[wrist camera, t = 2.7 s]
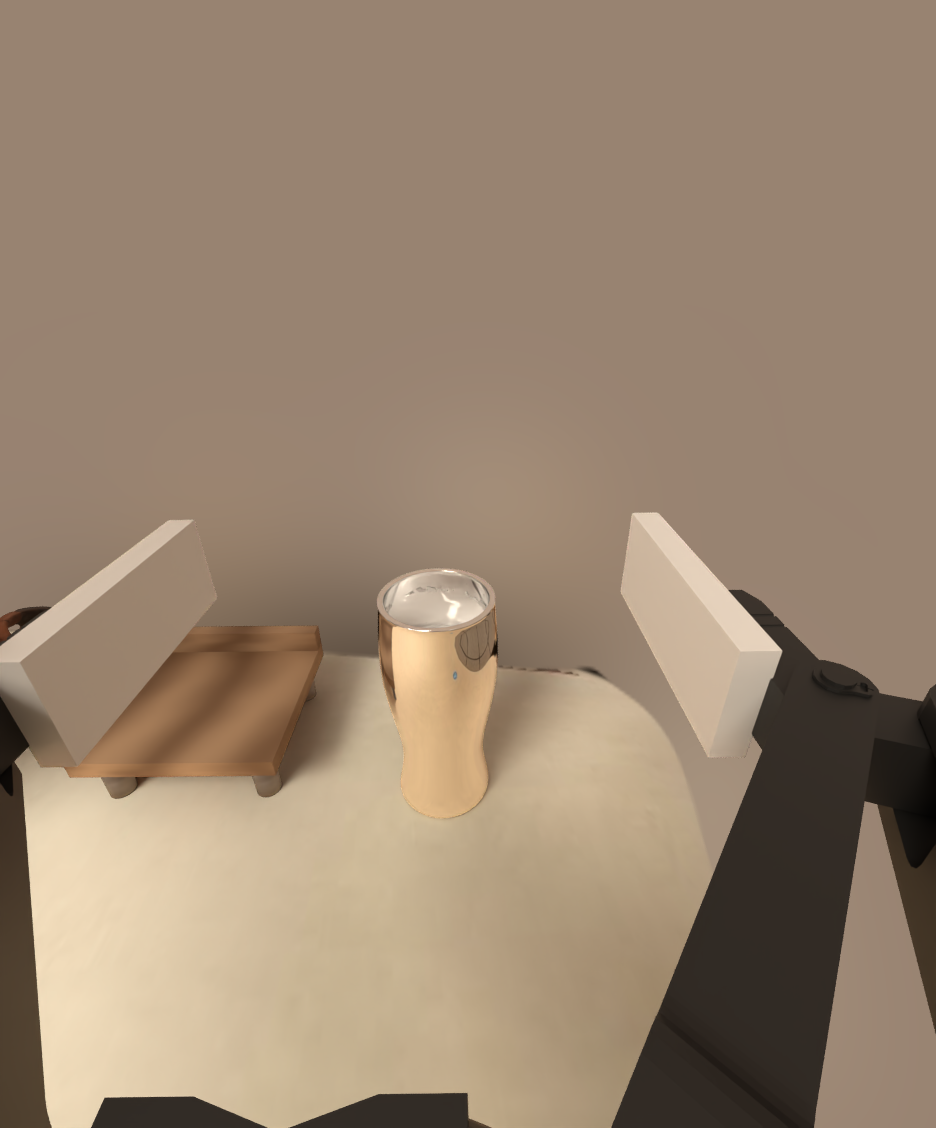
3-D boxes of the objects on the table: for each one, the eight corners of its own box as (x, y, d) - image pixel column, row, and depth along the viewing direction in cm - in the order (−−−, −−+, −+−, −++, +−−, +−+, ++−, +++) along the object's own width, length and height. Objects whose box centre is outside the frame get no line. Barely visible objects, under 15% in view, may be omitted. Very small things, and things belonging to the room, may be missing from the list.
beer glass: (505, 752, 37) (512, 575, 30) (477, 839, 31) (477, 644, 24) (418, 730, 39) (405, 559, 31) (376, 808, 33) (348, 619, 26)
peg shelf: (87, 808, 33) (50, 743, 30) (179, 683, 43) (158, 627, 41) (284, 806, 33) (266, 741, 30) (328, 682, 43) (318, 625, 41)
